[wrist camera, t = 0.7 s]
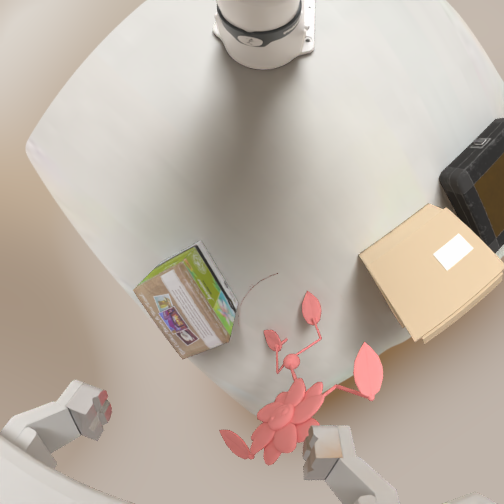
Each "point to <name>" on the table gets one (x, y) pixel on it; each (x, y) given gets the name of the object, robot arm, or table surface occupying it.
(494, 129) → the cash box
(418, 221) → the mailer box
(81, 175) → the table surface
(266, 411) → the figurine
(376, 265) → the lid
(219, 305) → the tea box
